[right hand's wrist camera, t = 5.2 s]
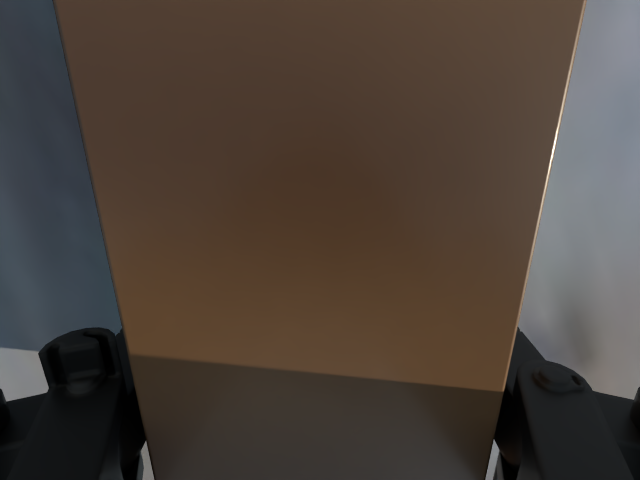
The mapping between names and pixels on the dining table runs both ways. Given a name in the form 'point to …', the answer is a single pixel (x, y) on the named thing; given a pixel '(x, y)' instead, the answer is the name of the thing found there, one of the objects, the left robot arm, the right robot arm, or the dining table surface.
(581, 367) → the dining table surface
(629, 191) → the dining table surface
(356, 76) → the bar
